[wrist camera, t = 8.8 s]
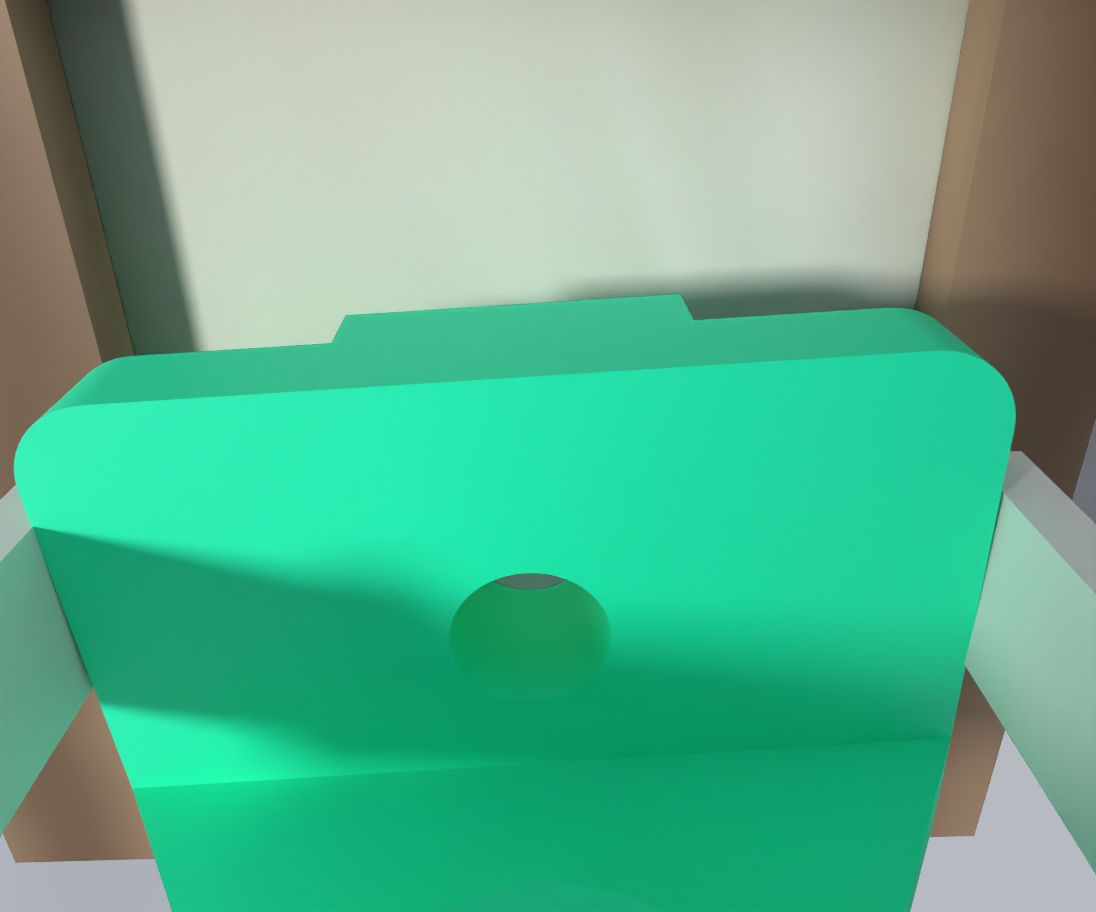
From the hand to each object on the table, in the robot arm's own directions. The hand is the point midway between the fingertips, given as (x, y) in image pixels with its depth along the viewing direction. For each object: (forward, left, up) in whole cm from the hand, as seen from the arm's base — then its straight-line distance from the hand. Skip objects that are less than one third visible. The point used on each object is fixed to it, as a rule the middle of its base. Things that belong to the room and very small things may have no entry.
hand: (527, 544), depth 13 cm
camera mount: (0, -1, -1) cm, 2 cm away
